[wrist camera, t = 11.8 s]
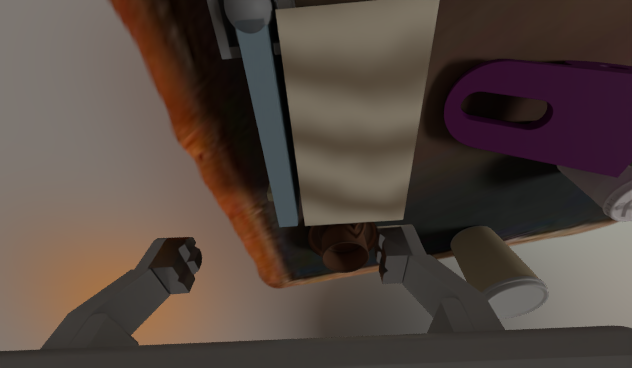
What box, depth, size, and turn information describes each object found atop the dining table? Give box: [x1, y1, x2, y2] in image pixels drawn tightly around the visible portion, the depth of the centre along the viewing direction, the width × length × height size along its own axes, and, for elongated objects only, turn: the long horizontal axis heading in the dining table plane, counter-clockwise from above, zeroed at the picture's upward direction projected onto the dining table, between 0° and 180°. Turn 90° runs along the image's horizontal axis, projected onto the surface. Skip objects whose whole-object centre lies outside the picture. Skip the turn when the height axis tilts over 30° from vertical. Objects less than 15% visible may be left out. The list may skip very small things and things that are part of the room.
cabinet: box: [207, 0, 440, 226], centre depth 27 cm, size 25×17×9 cm
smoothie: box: [557, 165, 632, 221], centre depth 31 cm, size 6×6×14 cm
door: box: [224, 0, 300, 227], centre depth 27 cm, size 23×4×10 cm, turn 4°
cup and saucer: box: [308, 222, 377, 273], centre depth 42 cm, size 12×12×6 cm
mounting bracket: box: [444, 59, 632, 178], centre depth 30 cm, size 10×9×19 cm
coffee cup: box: [451, 226, 549, 318], centre depth 41 cm, size 9×9×12 cm
